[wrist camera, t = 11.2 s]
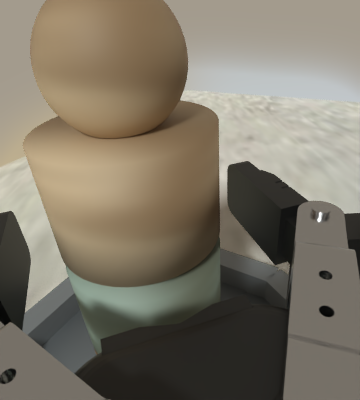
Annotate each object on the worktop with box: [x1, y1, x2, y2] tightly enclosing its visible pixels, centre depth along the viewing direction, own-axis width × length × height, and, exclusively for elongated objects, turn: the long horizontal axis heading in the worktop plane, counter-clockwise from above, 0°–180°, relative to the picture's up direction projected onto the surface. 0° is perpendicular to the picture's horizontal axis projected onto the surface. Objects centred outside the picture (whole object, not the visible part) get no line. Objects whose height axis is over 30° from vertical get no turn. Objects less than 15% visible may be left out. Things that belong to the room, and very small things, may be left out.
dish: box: [22, 249, 289, 374], centre depth 15 cm, size 18×18×2 cm
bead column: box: [23, 0, 221, 355], centre depth 11 cm, size 6×6×16 cm
